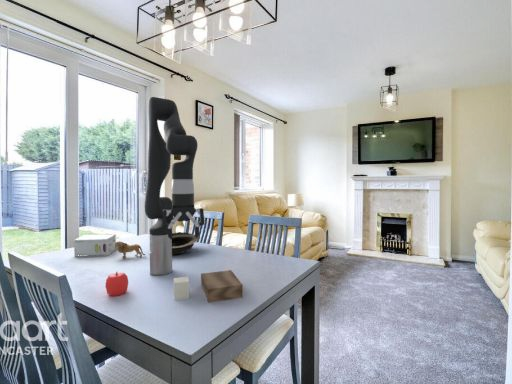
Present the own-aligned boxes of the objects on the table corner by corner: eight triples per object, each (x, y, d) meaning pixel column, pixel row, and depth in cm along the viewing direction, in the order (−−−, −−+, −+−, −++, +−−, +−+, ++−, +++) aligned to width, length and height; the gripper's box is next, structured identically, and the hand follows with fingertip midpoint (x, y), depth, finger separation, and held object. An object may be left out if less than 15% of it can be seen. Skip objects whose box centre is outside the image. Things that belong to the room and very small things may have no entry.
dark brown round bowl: (190, 243, 175) (191, 229, 174) (205, 256, 153) (205, 240, 152) (149, 248, 162) (149, 233, 161) (158, 263, 141) (158, 245, 140)
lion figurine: (114, 260, 141) (114, 242, 140) (115, 257, 146) (114, 240, 145) (145, 257, 147) (145, 240, 146) (145, 254, 152) (144, 238, 151)
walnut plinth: (208, 303, 93) (207, 289, 93) (201, 286, 108) (201, 273, 108) (242, 298, 97) (242, 284, 97) (231, 282, 112) (231, 270, 112)
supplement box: (73, 257, 147) (73, 239, 147) (85, 250, 160) (84, 234, 160) (107, 255, 150) (107, 238, 149) (116, 249, 163) (115, 233, 162)
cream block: (174, 300, 95) (174, 283, 95) (173, 294, 100) (173, 278, 99) (189, 298, 97) (189, 281, 96) (188, 292, 101) (188, 276, 101)
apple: (110, 300, 95) (109, 277, 95) (101, 293, 100) (100, 272, 100) (133, 292, 101) (132, 271, 101) (123, 287, 106) (122, 266, 106)
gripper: (161, 193, 91) (162, 242, 92) (204, 192, 96) (205, 238, 97) (161, 192, 99) (162, 237, 99) (202, 191, 103) (202, 234, 104)
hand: (183, 238), depth 98 cm, fingers open, 8 cm apart
